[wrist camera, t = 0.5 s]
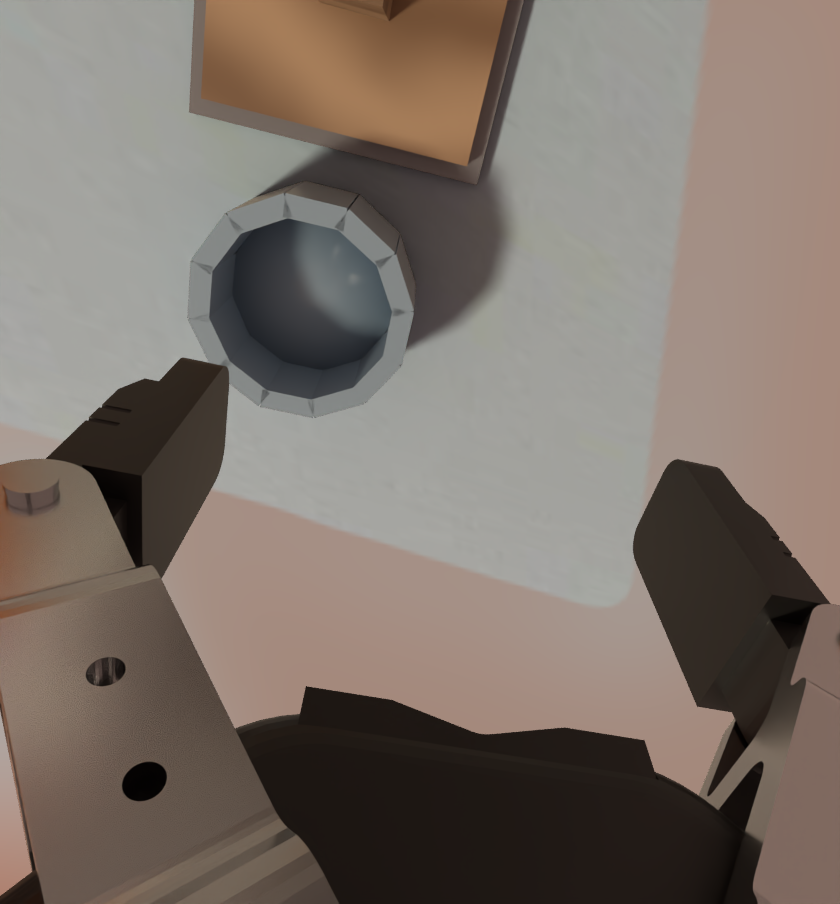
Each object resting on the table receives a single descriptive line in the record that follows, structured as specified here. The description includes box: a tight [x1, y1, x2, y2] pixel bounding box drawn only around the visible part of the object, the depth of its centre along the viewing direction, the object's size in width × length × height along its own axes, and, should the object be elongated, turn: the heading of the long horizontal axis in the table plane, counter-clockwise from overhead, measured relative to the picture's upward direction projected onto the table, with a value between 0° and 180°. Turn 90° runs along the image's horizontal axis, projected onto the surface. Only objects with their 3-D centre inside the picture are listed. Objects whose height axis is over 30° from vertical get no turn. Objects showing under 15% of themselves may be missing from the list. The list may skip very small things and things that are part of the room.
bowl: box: [187, 181, 416, 418], centre depth 32 cm, size 10×10×5 cm
